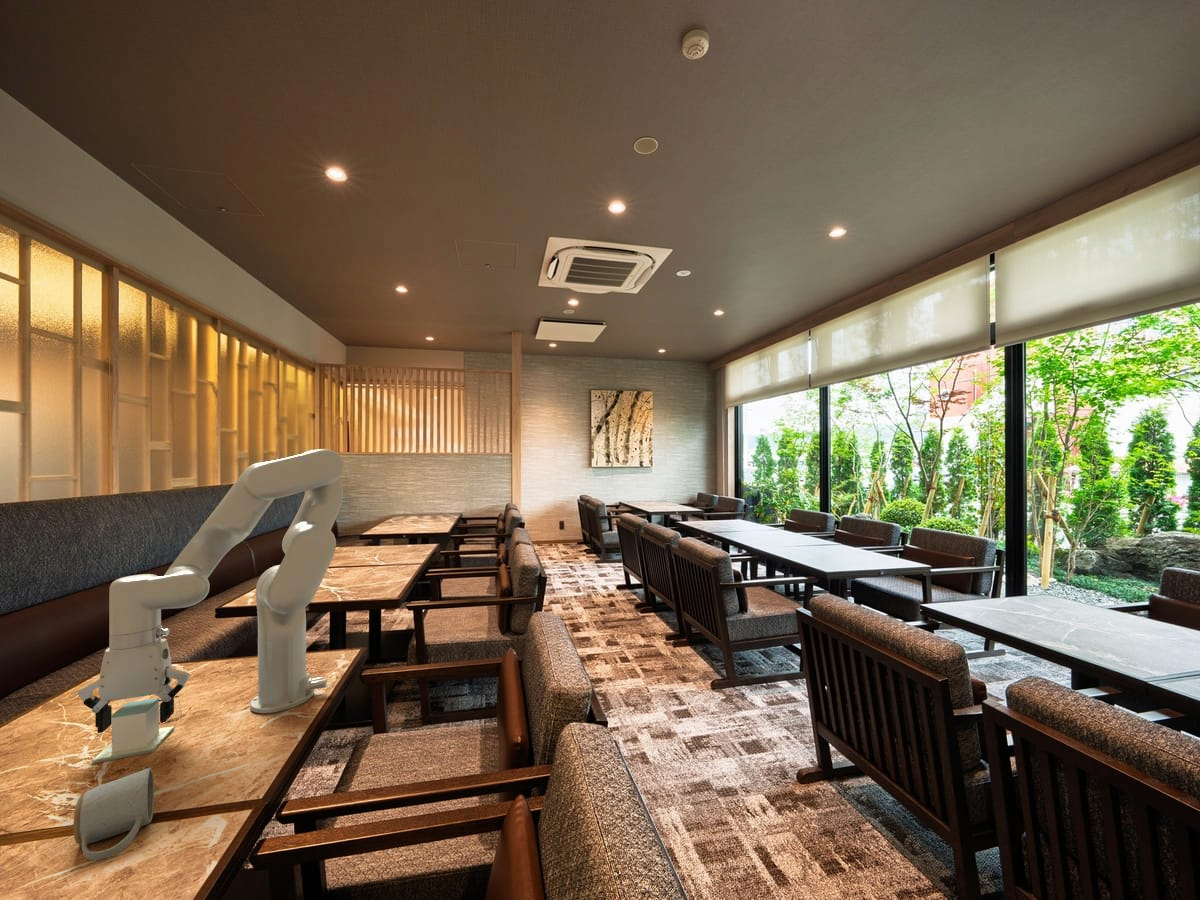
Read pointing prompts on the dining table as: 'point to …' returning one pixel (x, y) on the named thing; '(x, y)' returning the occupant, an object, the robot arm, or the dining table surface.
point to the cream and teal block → (135, 724)
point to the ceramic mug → (114, 812)
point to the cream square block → (149, 748)
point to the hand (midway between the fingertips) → (135, 724)
